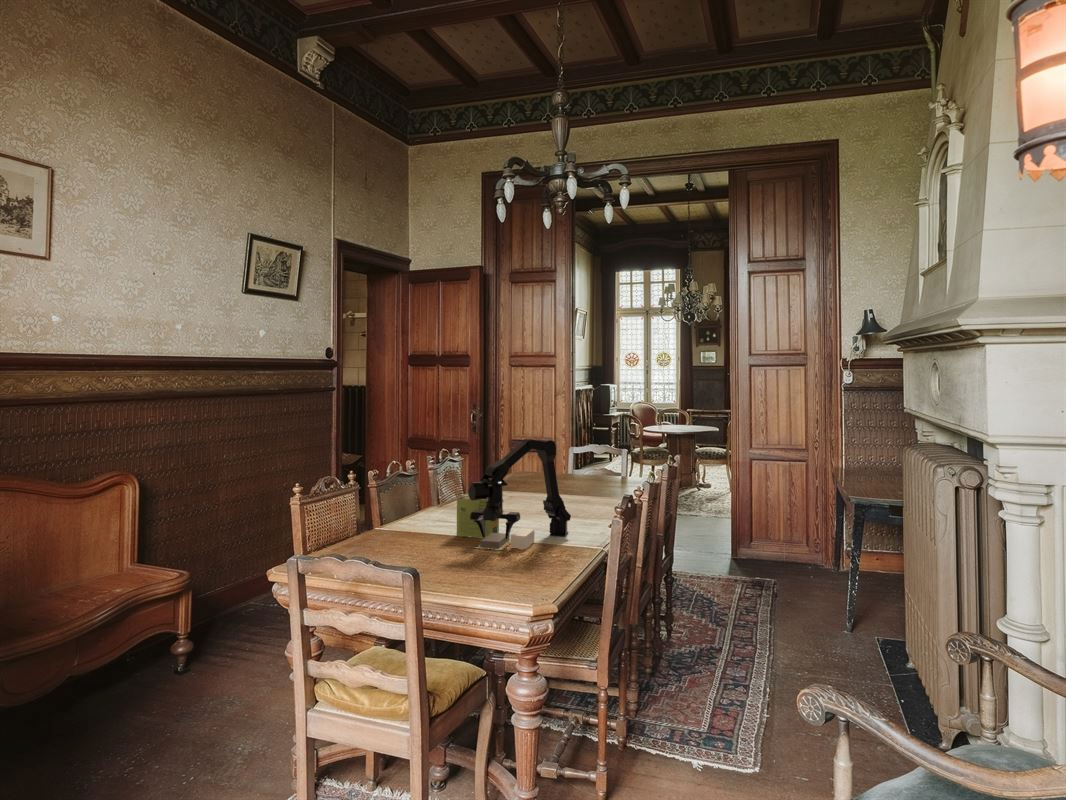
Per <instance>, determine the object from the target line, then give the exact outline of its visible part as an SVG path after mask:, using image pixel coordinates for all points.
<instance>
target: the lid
mask: <svg viewBox="0 0 1066 800" xmlns="http://www.w3.org/2000/svg"><path fill="white" fill-rule="evenodd" d="M510 539H511V534H510V533H509V536H508V538H507V539H506V533H501V532H499V533H491V534H489V535H488V536H486V537H485V538H482V539H481V540H480V541H479V544H480V547H484V548H498V549H499V548H500V547H501V546H503V545H504V544H505V543H506V542H508V541H509V540H510Z"/></svg>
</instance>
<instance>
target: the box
mask: <svg viewBox="0 0 1066 800" xmlns="http://www.w3.org/2000/svg"><path fill="white" fill-rule="evenodd" d="M510 539H511V544H510V549H511V548H523V549H522V550H524V549H526V548H527V547H528V548H529V547H531V546H532V545H533V544H534V543H535V529H534V528H520V527H519V528H518V529H517V530H515V531H514V532H513V533H512V534H510ZM533 542H534V543H533ZM532 543H533V544H532ZM531 544H532V545H531ZM530 545H531V546H530ZM528 548H527V549H528ZM527 549H526V550H527Z"/></svg>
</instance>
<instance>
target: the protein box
mask: <svg viewBox="0 0 1066 800" xmlns="http://www.w3.org/2000/svg"><path fill="white" fill-rule="evenodd" d="M487 501H488V497H487V499H482V500H473V501H472V500H471V499H470V498H469V495H468V494H463V495H461V496H460V497H458V498H456V537H462V536H471V537H470V538H479V537H483V536H482V533H481V530H480V528H479V526H478V524H477V523H476V522H474V521H473V520H471V519H470V514H471V512H473V511H475V510H484V509H485V508H486V505H487ZM491 533H500V519H498V518H496V520H495V521H491V520H487V521H485V537H486V536H488V535H489V534H491Z"/></svg>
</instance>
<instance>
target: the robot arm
mask: <svg viewBox="0 0 1066 800" xmlns="http://www.w3.org/2000/svg"><path fill="white" fill-rule="evenodd" d="M531 450H536V453H537V456H538V457H539V459H540V461H541V462H542V464H541V465H542V471H543V477H544V483H545V490H546V498H545V499H544V500H542V504H543V511H545V514H547V516H548V519H550V522H549V536H554V537H555V536H556V537H558V536H559V537H566V536H567V535H568V534H569V531H568V522H569V521H571V518H572V516H571V514H570V513H569V512H568V510H567V509H566V505H565V503H564V500H563V498H562V497H561V495H560V493H559V485H558V479H557V478H558V477H557V471H556V464H555V458H556V456H557V444H556V442H555V441H553V440H552V439H544V438H540V439H539V440H536V439H535V440H534V439H532V438H527V437H526V438H524V439H522V441H521V442H520V443H518V445H516V446H515V447H514V448H513V449H512V450H511V451H509V452H508V453H507V454H506V455H504V457H502V458H501V459H499V460H497V461H493V462H492V463H490V464H489V465H488V466H487V467H485V472H484V474H483V475H482V477H481V478H480V479H479V481H472V482H471V483H470V486H469V488H468V490H467V493H468V494H467V495H469V498H470V499H471V500H472V501H473V500H482V499H487V497H488V501H487V505H486V508H485V509H484V510H475V511H473V512H471V514H470V519H471V520H473V521H474V522H476V523H477V524H478V526H479V528H480V530H481V533H482V536H483V538H484V537H485V521H487V520H491V521H495V520H496V518H498V519H499V520H500V519H501V520H506V522H505V534H506V539H507V538H508V536H509V534H510V533H511V530H512V528H513V525H514V524H516V523H517V522H519V521H520V520H521V513H520V512H519V511H510V512H507V513H504V508H503V506H504V505H503V503H504V498H503V495H504V494H503V491H504V489H503V487H505V486H506V487H507V486H508V484H509V483H507V482H506V481H505V480H504V479H505V477H506V476H507V475H508V474H509V472H510V470H511V468H512V467H513V466H514V465H516V463H518V462H519V461H520V460H521V459H522V458H524V456H525V455H526V454H528V453H529V452H530V451H531ZM483 538H482V539H483Z"/></svg>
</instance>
